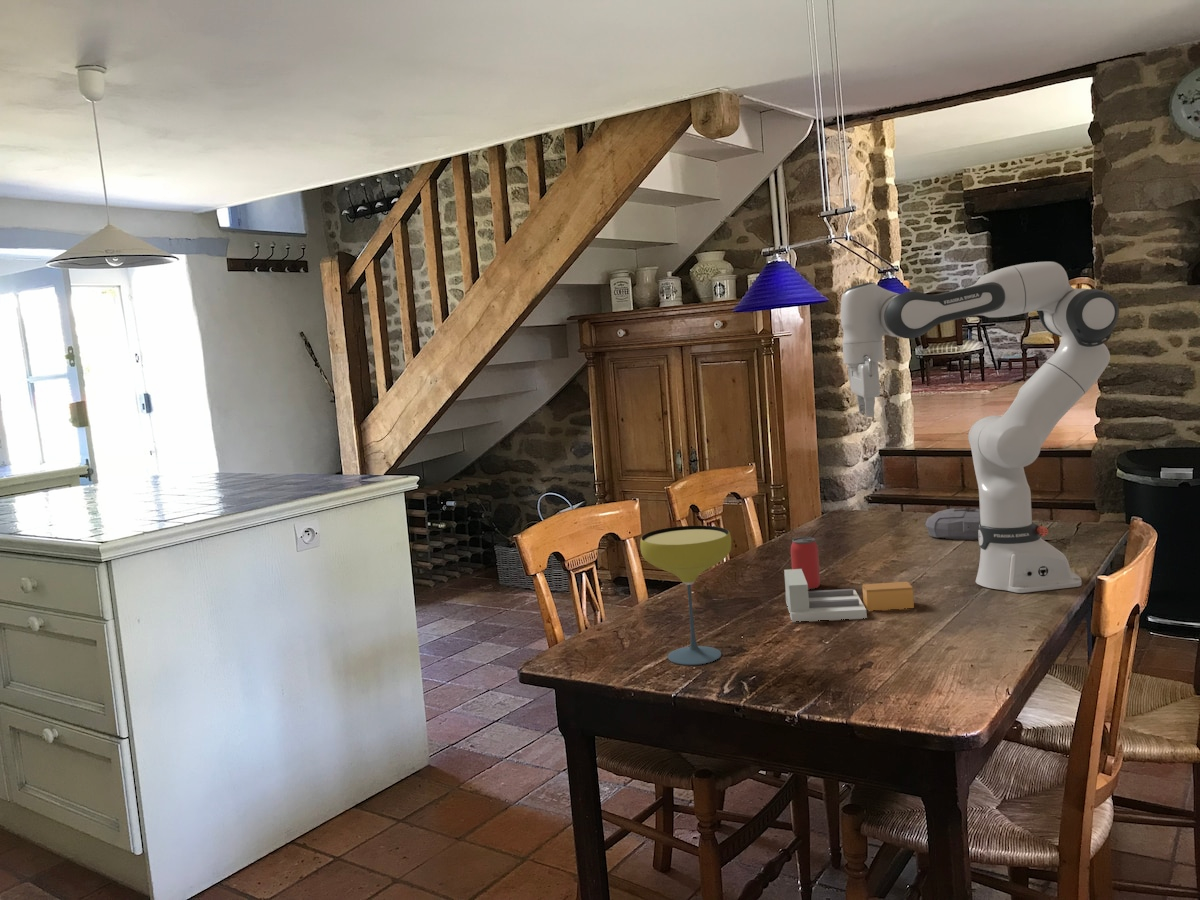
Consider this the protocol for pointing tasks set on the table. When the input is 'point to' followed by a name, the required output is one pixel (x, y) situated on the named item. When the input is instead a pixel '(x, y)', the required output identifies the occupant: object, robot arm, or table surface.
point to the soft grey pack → (955, 524)
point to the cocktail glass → (687, 570)
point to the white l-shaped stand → (820, 601)
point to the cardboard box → (888, 596)
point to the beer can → (806, 559)
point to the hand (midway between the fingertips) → (866, 414)
